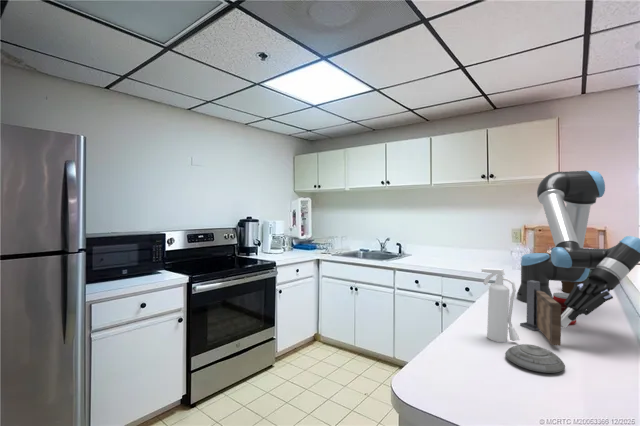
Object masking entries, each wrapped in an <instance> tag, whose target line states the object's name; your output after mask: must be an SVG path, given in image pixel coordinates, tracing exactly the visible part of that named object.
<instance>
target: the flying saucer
mask: <svg viewBox="0 0 640 426" xmlns="http://www.w3.org/2000/svg"><path fill="white" fill-rule="evenodd" d="M504 354H505V357H506V358H507V359H508V360H509V362H512V363H513V364H515V365H516V366H519V367H521V368H523V369H526V370H530V371H534V372H538V373H545V374H546V373H549V374H550V373H551V374H552V373H553V374H554V373H559V372H562V371H564V370H565V368H566V364H565V363H564V361H563V360H562V359H561V357H559V355H557V354H556V353H554V352H553V351H550V350H549V349H547V348H545V347H541V346H539V345H535V344H527V343H525V344H524V343H523V344H521V343H520V344H516V345H513V346H511V347H509V348H508V349H507V350H506V351H505V353H504Z"/></svg>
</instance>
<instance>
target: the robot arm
mask: <svg viewBox="0 0 640 426" xmlns="http://www.w3.org/2000/svg"><path fill="white" fill-rule="evenodd" d="M536 191H537V192H536V195H537V200H538V202H539V203H540V204H542V208H543V210H544V214H545V216H546V219H547V224H548V226H549V230H550V233H551V237H552V240H553V241H552V242H553V244H554V247H553V248H551V251H550V254H549V253H544V252H541V253H540V252H532V253H526V254H523V255H522V256H521V260H520V285H519V288H518V291H516V292H517V293H516V299H517V300H518V301H521V302H523V303H527V281H530V280H534V281H538V282H540V291H542V292H545V293H546V294H547V295H549V296H550V297H551V298H553V294H552V291H551V289H550V281H554V282H555V281H556V282H561V281H570V282H582V281H584V280H585V279H586V278H587V277H588V275H589V279H588V280H587V281H585V282H584V283H583V284H578V283H575V284H574V288H573V289H572V291H571V293H570V294H569V293H568V294H569V296H568V297H567V299H566V301H565V302H564V304H565V305H566V306H567V308H566V309H565V310H564V311H563V312H562V315H561V328H563V329H566V328H567V327H568V326H570V325H569V323H570V322H571V321H573V320H575V319H576V320H577V319H578V317H579V316H580V315H584V316H588V315H590V313H592V312H593V311H595V310H596V309H598V308H599V307H600V306H602V305H603V304H605V303H606V302H608V301H610V300H613V299H614V296H613V295H612V293H610V291H613V290H614V289H615V288H616V287H617V286H618V285H619V284H620V282H621V281H623V279H624V278H625V277H626V276H627V275H628V274H629V273H630V272H631V271H632V270H633V269H634V268H635V267H636V266H637V265H638V264H639V263H640V238H639V237H636V236H633V235H627V236H624V237H623V238H622V239H621V240H619V242H617V244H616V245H614V246H611V247H609V248H587V247H585V248H584V246H585V245H584V244H585V239H586V233H587V229H588V222H589V218H590V211H591V206H593V205H595V204H596V203H597V199H598V198H601V197H603V196H604V195H605V192H606V183H605V180H604V177H603V175H602V174H601V173H600V172H599V171H595V170H573V171H572V170H571V171H570V170H569V171H555V172H552V173H550V174H548V175H546V176H545V177H544V178H543V179H542V180H541V181H540V182H539V184H538V187H537V190H536ZM590 269H594V270H593V271H592V272H591V273H590V274H589V271H590Z"/></svg>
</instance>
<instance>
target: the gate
mask: <svg viewBox="0 0 640 426" xmlns="http://www.w3.org/2000/svg"><path fill="white" fill-rule="evenodd" d="M536 295H537V327H538V328H539V329H540V330H539V331H540V332H542V334H543V335H544V336H545V337H546V339H547V340H548V341H549V344H551V345H552V346H557V347H558V346H559V347H561V343H562V327H561V305H560V304H559V303H558V302H556V301H555V300H554V299H553V298H551V297H550V296H549V295H547V294H546V293H545V292H542V291H539V290H538V291H536Z"/></svg>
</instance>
